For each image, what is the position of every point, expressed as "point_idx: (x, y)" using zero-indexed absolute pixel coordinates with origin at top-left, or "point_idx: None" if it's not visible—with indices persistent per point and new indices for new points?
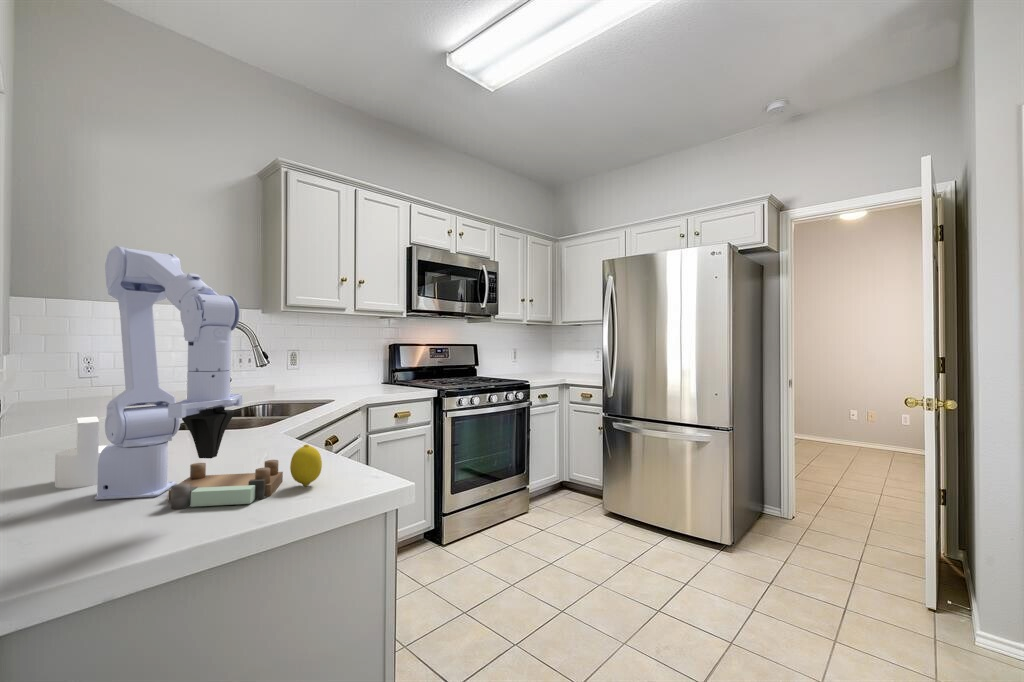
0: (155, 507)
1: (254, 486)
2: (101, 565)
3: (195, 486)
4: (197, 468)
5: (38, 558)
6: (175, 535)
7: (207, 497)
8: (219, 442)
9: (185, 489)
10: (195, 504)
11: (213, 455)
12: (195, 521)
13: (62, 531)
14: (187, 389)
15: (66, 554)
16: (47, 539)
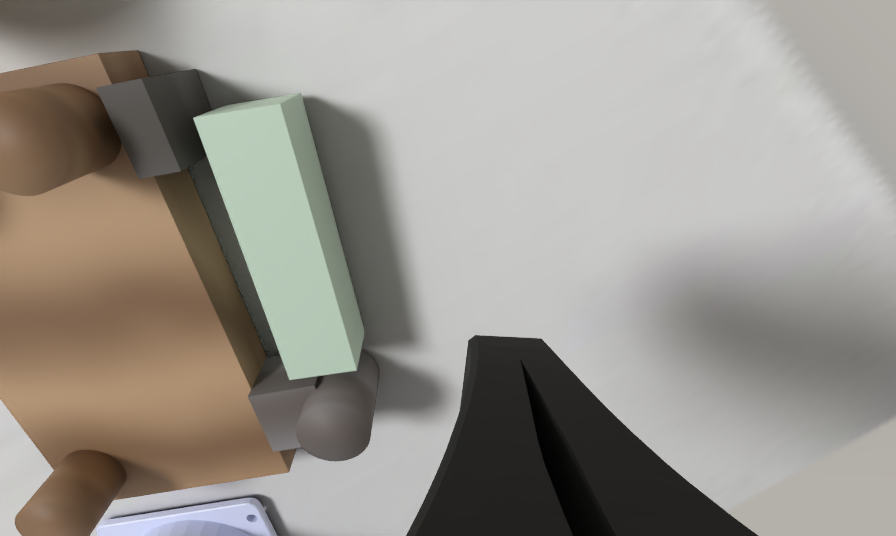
0: None
1: (209, 114)
2: (871, 285)
3: (220, 414)
4: (85, 505)
5: (752, 456)
6: (662, 215)
7: (344, 294)
8: (492, 401)
9: (350, 399)
10: (360, 320)
11: (529, 345)
12: (515, 228)
13: None
14: None
15: (745, 417)
16: None
